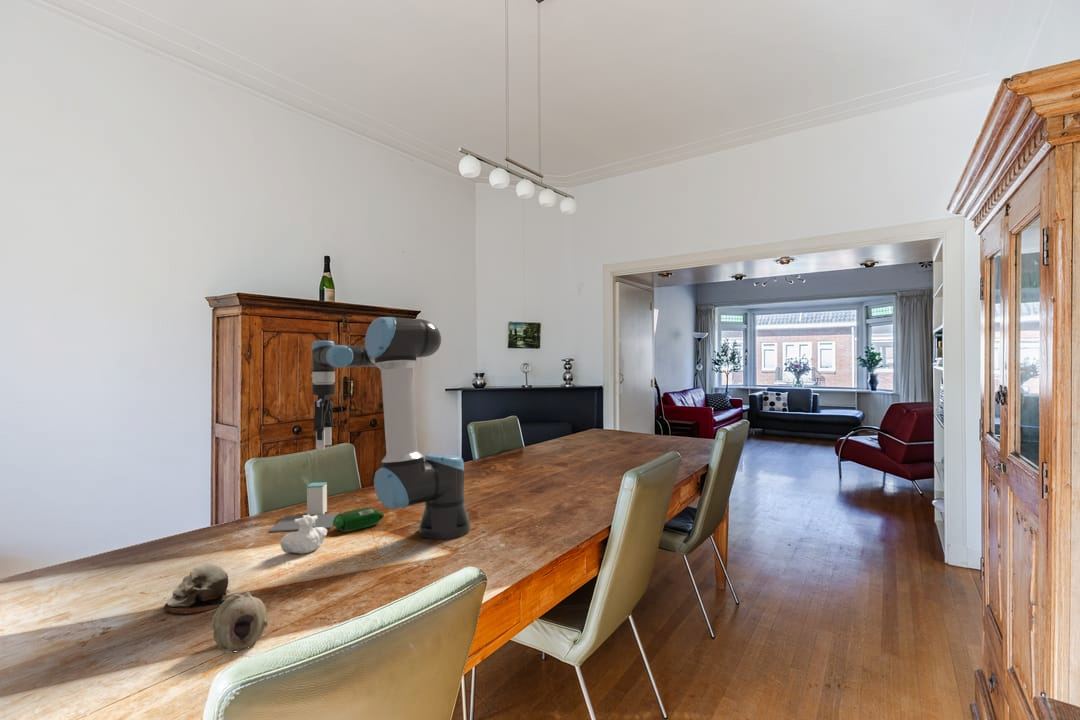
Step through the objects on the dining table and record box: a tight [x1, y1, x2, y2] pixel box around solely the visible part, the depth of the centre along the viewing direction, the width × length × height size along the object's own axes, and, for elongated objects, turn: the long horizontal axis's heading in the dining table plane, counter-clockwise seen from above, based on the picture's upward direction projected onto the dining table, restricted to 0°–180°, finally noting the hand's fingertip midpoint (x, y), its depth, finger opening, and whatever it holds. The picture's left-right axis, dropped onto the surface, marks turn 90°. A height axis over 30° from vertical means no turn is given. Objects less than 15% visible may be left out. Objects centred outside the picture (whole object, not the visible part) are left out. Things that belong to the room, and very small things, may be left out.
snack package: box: [333, 506, 385, 533], centre depth 154 cm, size 7×16×5 cm, turn 132°
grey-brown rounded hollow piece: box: [211, 591, 270, 654], centre depth 90 cm, size 9×8×10 cm
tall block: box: [306, 481, 328, 515], centre depth 168 cm, size 5×5×10 cm
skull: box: [164, 563, 231, 615], centre depth 106 cm, size 12×10×10 cm
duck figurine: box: [279, 514, 328, 555], centre depth 134 cm, size 12×8×11 cm
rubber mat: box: [268, 512, 341, 533], centre depth 158 cm, size 14×18×1 cm
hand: (323, 446), depth 177 cm, fingers open, 8 cm apart
